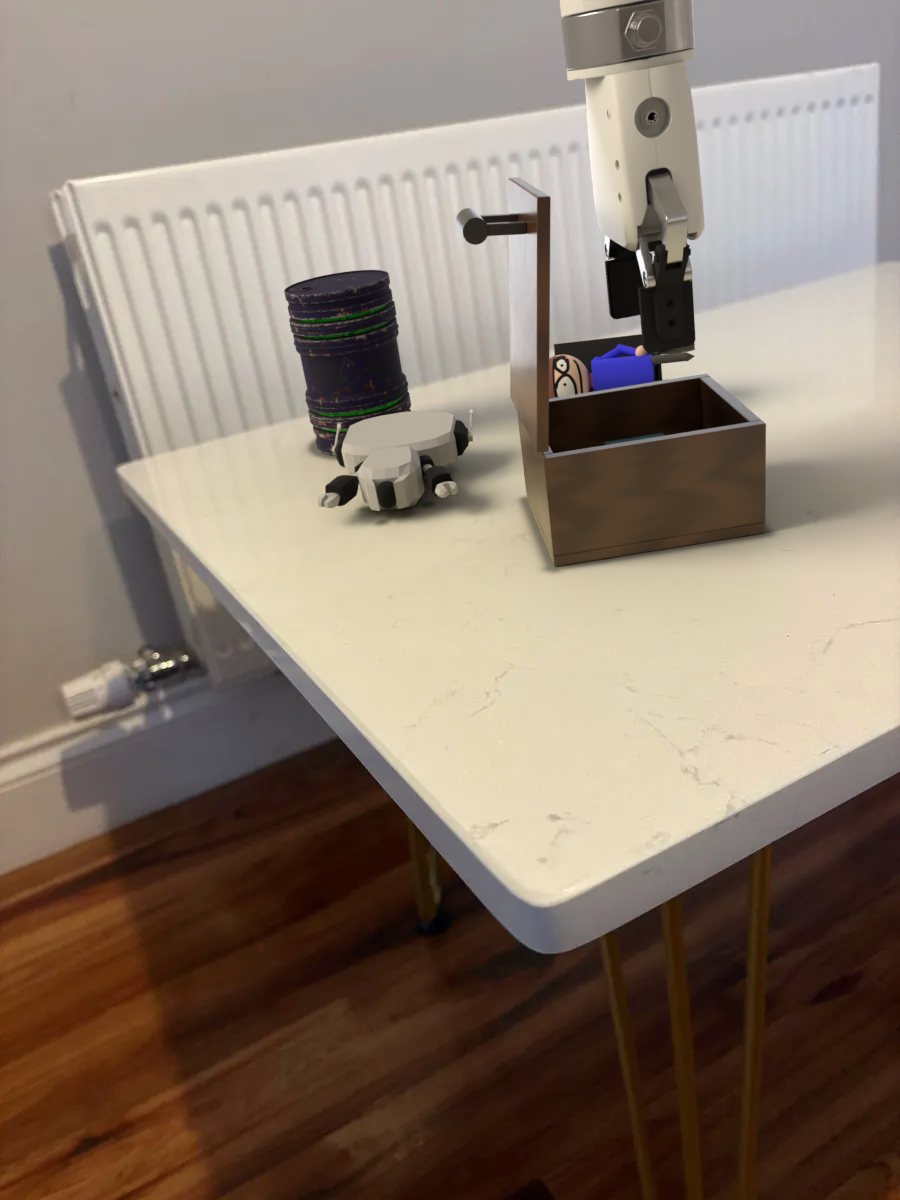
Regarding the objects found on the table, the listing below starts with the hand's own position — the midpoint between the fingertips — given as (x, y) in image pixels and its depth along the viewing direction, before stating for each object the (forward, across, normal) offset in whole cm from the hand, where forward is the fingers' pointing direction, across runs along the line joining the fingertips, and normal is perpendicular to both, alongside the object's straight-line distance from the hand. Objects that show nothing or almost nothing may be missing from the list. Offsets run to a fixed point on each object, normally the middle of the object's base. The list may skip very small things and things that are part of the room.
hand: (650, 330), depth 68 cm
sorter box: (+14, +1, +2) cm, 14 cm away
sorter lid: (-3, +1, +7) cm, 8 cm away
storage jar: (+13, +29, +22) cm, 38 cm away
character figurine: (+14, +24, -2) cm, 28 cm away
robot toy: (+13, +14, +19) cm, 27 cm away
